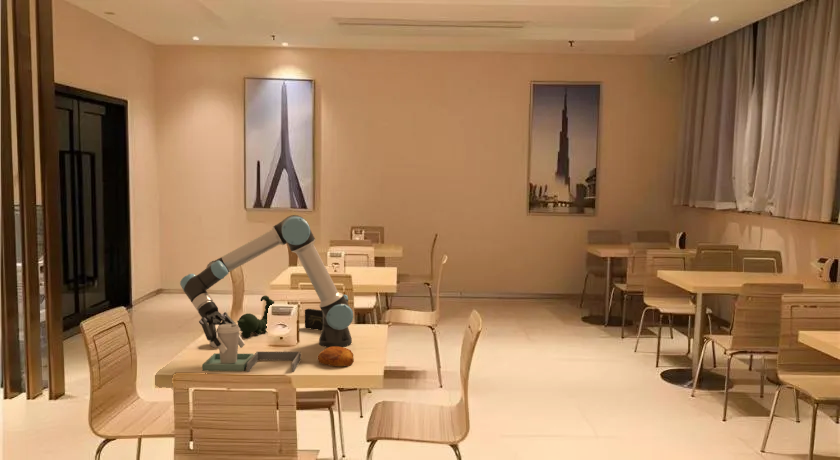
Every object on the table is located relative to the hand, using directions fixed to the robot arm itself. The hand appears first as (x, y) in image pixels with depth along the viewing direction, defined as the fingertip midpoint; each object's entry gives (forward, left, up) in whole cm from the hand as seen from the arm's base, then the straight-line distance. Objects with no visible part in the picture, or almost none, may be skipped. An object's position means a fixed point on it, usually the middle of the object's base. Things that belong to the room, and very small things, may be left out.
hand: (234, 348), depth 278 cm
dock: (-16, -1, -7) cm, 18 cm away
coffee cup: (+3, -2, -6) cm, 7 cm away
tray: (+3, -2, -7) cm, 8 cm away
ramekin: (+15, -34, -8) cm, 37 cm away
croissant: (-42, -6, -8) cm, 43 cm away
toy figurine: (+4, -55, -8) cm, 55 cm away
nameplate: (-28, -64, -8) cm, 70 cm away
